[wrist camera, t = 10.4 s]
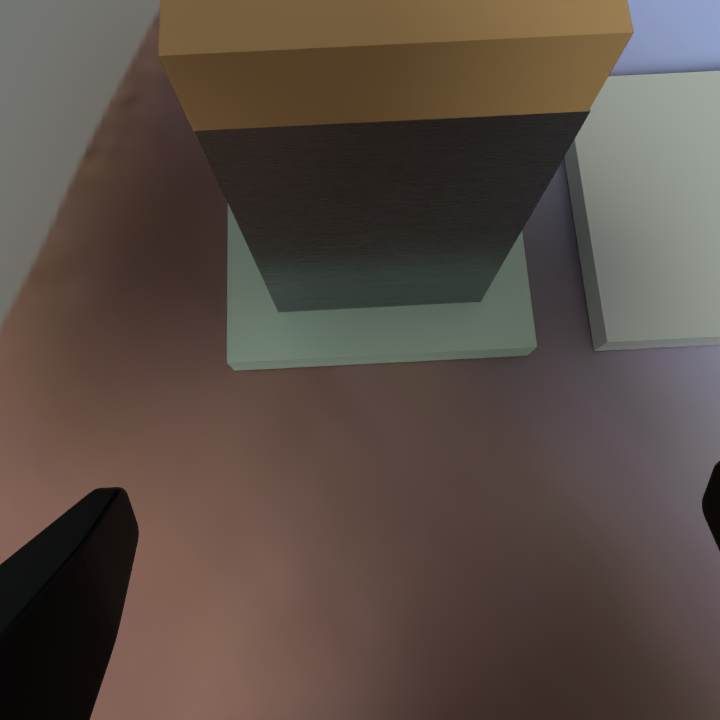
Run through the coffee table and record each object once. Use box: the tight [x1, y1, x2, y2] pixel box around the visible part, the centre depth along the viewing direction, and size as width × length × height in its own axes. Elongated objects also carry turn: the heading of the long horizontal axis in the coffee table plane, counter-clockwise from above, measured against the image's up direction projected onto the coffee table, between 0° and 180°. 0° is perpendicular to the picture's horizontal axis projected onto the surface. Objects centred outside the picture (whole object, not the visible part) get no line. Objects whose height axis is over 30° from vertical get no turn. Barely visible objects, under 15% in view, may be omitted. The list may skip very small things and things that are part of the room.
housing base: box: [195, 110, 590, 312], centre depth 14 cm, size 6×6×8 cm
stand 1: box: [227, 204, 537, 371], centre depth 18 cm, size 9×9×1 cm
